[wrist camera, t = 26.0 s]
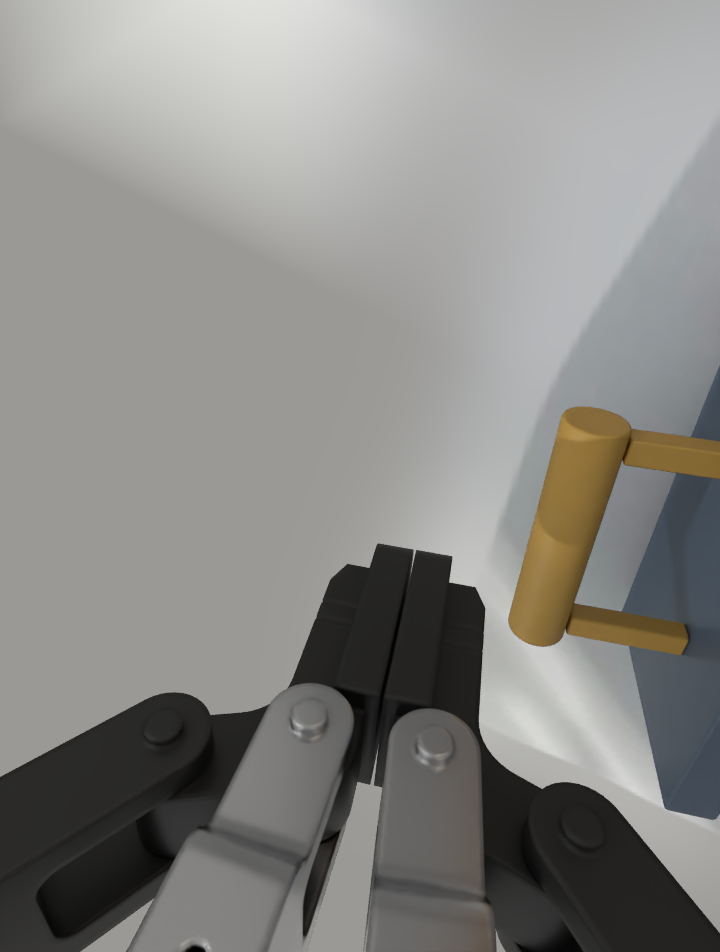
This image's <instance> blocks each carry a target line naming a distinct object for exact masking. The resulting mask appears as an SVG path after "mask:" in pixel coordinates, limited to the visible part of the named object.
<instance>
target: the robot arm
mask: <svg viewBox="0 0 720 952" xmlns="http://www.w3.org/2000/svg"><path fill="white" fill-rule="evenodd" d="M412 561H413V550H412V549H407V548H401V547H395V546H390V545H384V544H377V546H376V549H375V552H374V556H373V559H372V562H371V565H370V568H366V567H361V566H355V565H350V564H347V565H346V566H345V567H344V568H342V569H341V570H340V571H339V572H338V573H337V574H336V575H335V576H334V577H333V578H332V579H331V580H330V582H329V585H328V587H327V590H326V593H325V595H324V598H323V603H321V606H320V608H319V611H318V614H317V618H316V619H315V622H314V624H313V627H312V629H311V632H310V635H309V637H308V640H307V642H306V645H305V648H304V650H303V653H302V656H301V658H300V661H299V663H298V666H297V669H296V671H295V674H294V677H293V679H292V681H291V683H290V685H289V687H288V688H287V689H286V690H284V691H283V692H281V693H280V694H278V695H277V696H276V697H275V698H274V699H273V700H272V702H271V703H270V704H269V705H267V706H265V707H262V708H260V709H257V710H254V711H249V712H242V713H232V714H219V715H210V713H209V711H208V709H207V707H206V706H205V705H204V704H203V703H202V702H201V701H200V700H198V699H197V698H195V697H193V696H191V695H188V694H184V693H164V694H159V695H156V696H153V697H150V698H148V699H146V700H144V701H142V702H140V703H138V704H137V705H135V706H133V707H131V708H129V709H127V710H125V711H123V712H121V713H120V714H118V715H116V716H114V717H112V718H110V719H108V720H106V721H105V722H103V723H101V724H99V725H97V726H95V727H93V728H91V729H90V730H88V731H86V732H84V733H82V734H80V735H78V736H76V737H75V738H73V739H71V740H69V741H67V742H65V743H63V744H61V745H60V746H58V747H56V748H54V749H52V750H50V751H48V752H46V753H45V754H43V755H41V756H39V757H37V758H35V759H33V760H31V761H29V762H28V763H26V764H24V765H22V766H20V767H18V768H16V769H14V770H13V771H11V772H9V773H7V774H5V775H3V776H1V777H0V952H80V951H82V950H83V949H85V948H86V947H87V946H89V945H90V944H91V943H93V942H94V941H96V940H97V939H98V938H100V937H101V936H103V935H104V934H105V933H107V932H108V931H109V930H111V929H112V928H114V927H115V926H116V925H117V924H119V923H120V922H122V921H123V920H125V919H126V918H127V917H129V916H130V915H131V914H133V913H134V912H135V911H137V910H138V909H140V908H141V907H142V906H144V905H145V904H146V903H148V902H149V901H150V900H152V899H153V898H154V900H153V902H152V904H151V905H150V907H149V909H148V911H147V913H146V915H145V917H144V919H143V921H142V923H141V925H140V927H139V928H138V930H137V932H136V934H135V936H134V938H133V940H132V942H131V944H130V946H129V948H128V949H127V951H126V952H307V950H308V946H309V943H310V940H311V936H312V933H313V930H314V927H315V924H316V920H317V917H318V914H319V911H320V907H321V904H322V901H323V898H324V895H325V891H326V888H327V885H328V882H329V879H330V875H331V872H332V869H333V866H334V863H335V859H336V856H337V853H338V850H339V847H340V843H341V840H342V837H343V834H344V830H345V826H346V821H347V819H348V817H349V814H350V811H351V807H352V803H353V798H354V794H355V790H356V785H357V782H361V783H365V784H370V783H371V778H372V774H373V769H374V764H375V759H376V754H377V750H378V755H377V764H376V773H375V782H374V785H375V786H379V787H382V795H381V803H380V811H379V820H378V826H377V834H376V842H375V851H374V860H373V869H372V877H371V886H370V895H369V904H368V913H367V922H366V931H365V940H364V949H363V952H496V931H497V934H498V937H499V940H500V942H501V944H502V946H503V947H504V949H505V951H506V952H720V933H719V932H718V930H717V929H716V928H715V927H714V926H713V924H712V923H711V922H710V921H709V920H708V918H707V917H706V916H705V915H704V914H703V912H702V911H701V910H700V909H699V908H698V906H697V905H696V904H695V903H694V901H693V900H692V899H691V898H690V897H689V895H688V894H687V893H686V892H685V891H684V889H683V888H682V887H681V886H680V885H679V883H678V882H677V881H676V880H675V878H674V877H673V876H672V875H671V874H670V872H669V871H668V870H667V869H666V867H665V866H664V865H663V864H662V863H661V861H660V860H659V859H658V858H657V857H656V855H655V854H654V853H653V852H652V850H651V849H650V848H649V847H648V846H647V844H646V843H645V842H644V841H643V840H642V838H641V837H640V836H639V835H638V834H637V832H636V831H635V830H634V829H633V827H632V826H631V825H630V824H629V823H628V821H627V820H626V819H625V818H624V817H623V815H622V814H621V813H620V812H619V811H618V809H617V808H616V807H615V806H614V805H613V804H612V803H611V802H610V801H609V800H607V799H606V798H605V797H604V796H602V795H600V794H599V793H598V792H596V791H594V790H592V789H590V788H588V787H586V786H583V785H580V784H575V783H568V782H561V783H555V784H551V785H549V786H546V787H545V788H543V789H541V788H539V787H537V786H535V785H534V784H532V783H530V782H528V781H526V780H525V779H523V778H521V777H519V776H517V775H516V774H514V773H512V772H511V771H509V770H508V769H506V768H505V767H504V766H503V765H501V764H500V763H499V762H498V761H497V760H496V759H495V758H494V757H493V756H492V754H491V753H490V752H489V750H488V749H487V747H486V745H485V743H484V742H483V739H482V736H481V734H480V729H479V704H480V687H481V671H482V654H483V652H482V650H483V637H484V634H483V633H484V621H485V607H484V605H483V602H482V600H481V598H480V596H479V594H478V592H477V590H476V587H471V586H465V585H460V584H454V583H449V578H450V571H451V564H452V556H447V555H441V554H436V553H430V552H425V551H419V550H416V554H415V558H414V563H413V567H412ZM411 567H412V572H411ZM410 576H411V577H410ZM378 745H379V747H378ZM495 928H496V930H495Z"/></svg>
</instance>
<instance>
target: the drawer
mask: <svg viewBox="0 0 720 952" xmlns="http://www.w3.org/2000/svg"><path fill="white" fill-rule="evenodd" d="M622 460H623V463H624V465H627V466H634V467H641V468H647V469H654V470H661V471H668V472H674V473H677V474H676V477H675V479H674V482H673V484H672V487H671V489H670V492H669V494H668V497H667V499H666V502H665V504H664V507H663V509H662V512H661V514H660V517H659V519H658V522H657V524H656V527H655V529H654V532H653V534H652V537H651V539H650V542H649V544H648V547H647V549H646V552H645V554H644V557H643V560H642V562H641V565H640V567H639V570H638V572H637V575H636V577H635V580H634V582H633V585H632V587H631V590H630V592H629V595H628V597H627V600H626V602H625V605H624V607H623V610H622V612H619V611H613V610H608V609H602V608H597V607H591V606H586V605H580V604H574V601H575V598H576V595H577V592H578V590H579V587H580V584H581V581H582V578H583V575H584V572H585V569H586V566H587V563H588V560H589V557H590V554H591V551H592V548H593V545H594V542H595V539H596V536H597V533H598V530H599V527H600V524H601V521H602V518H603V515H604V512H605V509H606V506H607V503H608V500H609V498H610V495H611V492H612V489H613V486H614V483H615V480H616V477H617V474H618V471H619V468H620V465H621V462H622ZM508 621H509V626H510V628H511V630H512V632H513V633H514V634H515V635H516V636H517V637H518V638H519V639H521V640H522V641H524V642H526V643H528V644H531V645H535V646H541V647H545V646H551V645H554V644H556V643H557V642H559V641H560V640H561V638H562V637H563V634H564V631H565V628H566V633H567V634H569V635H574V636H579V637H585V638H590V639H595V640H601V641H606V642H611V643H617V644H622V645H627V646H629V649H630V653H631V658H632V663H633V667H634V672H635V676H636V681H637V685H638V690H639V694H640V699H641V703H642V708H643V712H644V717H645V721H646V726H647V731H648V735H649V740H650V744H651V749H652V753H653V758H654V762H655V767H656V771H657V776H658V780H659V785H660V789H661V794H662V799H663V803H664V807H665V809H667V810H670V811H675V812H679V813H684V814H688V815H693V816H697V817H702V818H707V819H711V820H715V819H716V818H717V817H718V816H719V814H720V366H719V369H718V371H717V374H716V376H715V379H714V381H713V384H712V386H711V389H710V391H709V394H708V396H707V399H706V401H705V404H704V406H703V409H702V411H701V414H700V416H699V419H698V421H697V424H696V426H695V429H694V431H693V434H692V436H691V437H685V436H678V435H671V434H664V433H657V432H649V431H642V430H635V429H631V426H630V424H629V423H628V422H627V421H626V420H625V419H624V418H622V417H621V416H619V415H617V414H615V413H612V412H610V411H607V410H603V409H599V408H593V407H574V408H570V409H568V410H566V411H565V412H564V413H563V415H562V417H561V421H560V424H559V428H558V432H557V436H556V439H555V443H554V447H553V451H552V455H551V458H550V462H549V466H548V470H547V474H546V477H545V481H544V485H543V489H542V493H541V496H540V500H539V504H538V508H537V511H536V515H535V519H534V523H533V527H532V530H531V534H530V538H529V542H528V546H527V549H526V553H525V557H524V561H523V565H522V568H521V572H520V576H519V580H518V583H517V587H516V591H515V595H514V599H513V602H512V606H511V610H510V614H509V618H508Z"/></svg>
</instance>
